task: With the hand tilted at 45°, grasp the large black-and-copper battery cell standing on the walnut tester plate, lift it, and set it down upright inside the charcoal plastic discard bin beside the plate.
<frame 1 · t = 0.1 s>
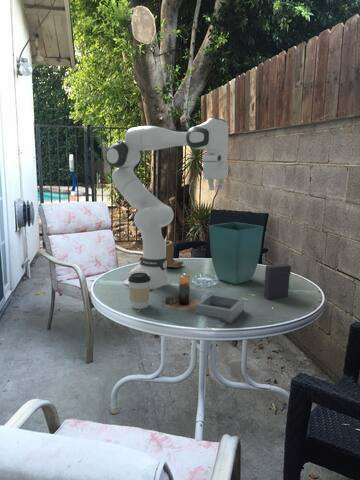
hand: (215, 189, 178), 48 cm above the table, tool pointing down, fingers open, 8 cm apart
flower pot: (233, 280, 212), on the table
wooden bookend: (167, 267, 235), on the table
discard bin: (219, 313, 165), on the table
coffee cup: (139, 309, 169), on the table
battery cell: (184, 303, 171), point 1 cm above the table, touching tester plate
grey box: (275, 298, 185), on the table
tester plate: (184, 307, 172), on the table
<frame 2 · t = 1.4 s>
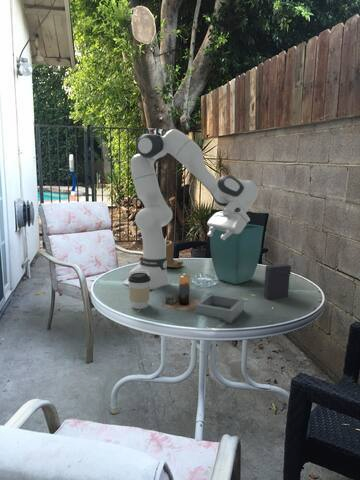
hand: (215, 237, 175), 28 cm above the table, tool tilted 45°, fingers open, 8 cm apart
nothing on the table moved.
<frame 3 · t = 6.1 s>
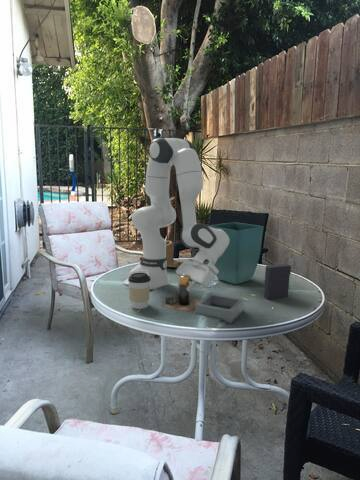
hand: (183, 288, 170), 8 cm above the table, tool tilted 45°, fingers closed on battery cell, 4 cm apart
battery cell: (184, 303, 171), point 2 cm above the table, touching gripper, tester plate
everything else where it was.
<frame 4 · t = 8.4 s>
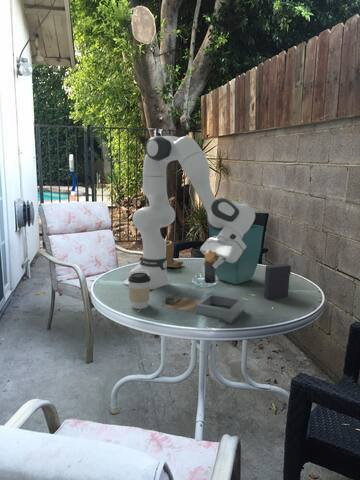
hand: (208, 265, 162), 19 cm above the table, tool tilted 45°, fingers closed on battery cell, 4 cm apart
battery cell: (210, 281, 164), point 13 cm above the table, touching gripper
everything else where it was.
when the fingers open (9 cm above the table, at t = 10.9 s): battery cell drops 1 cm, resting on discard bin.
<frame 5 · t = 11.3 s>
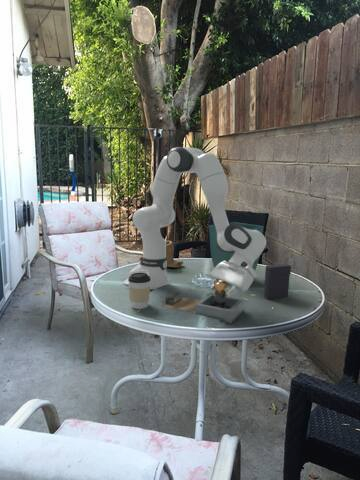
hand: (219, 292, 163), 9 cm above the table, tool tilted 45°, fingers open, 8 cm apart
battery cell: (219, 311, 165), point 1 cm above the table, touching discard bin
everything else where it was.
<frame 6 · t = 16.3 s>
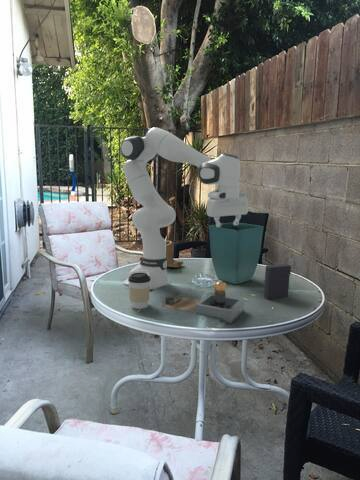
hand: (227, 226, 174), 33 cm above the table, tool pointing down, fingers open, 8 cm apart
nothing on the table moved.
at the end: battery cell inside the target area on the discard bin (0.1 cm from its centre), point 1.1 cm above the discard bin's base; battery cell tilted 2°; the gripper is holding nothing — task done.
